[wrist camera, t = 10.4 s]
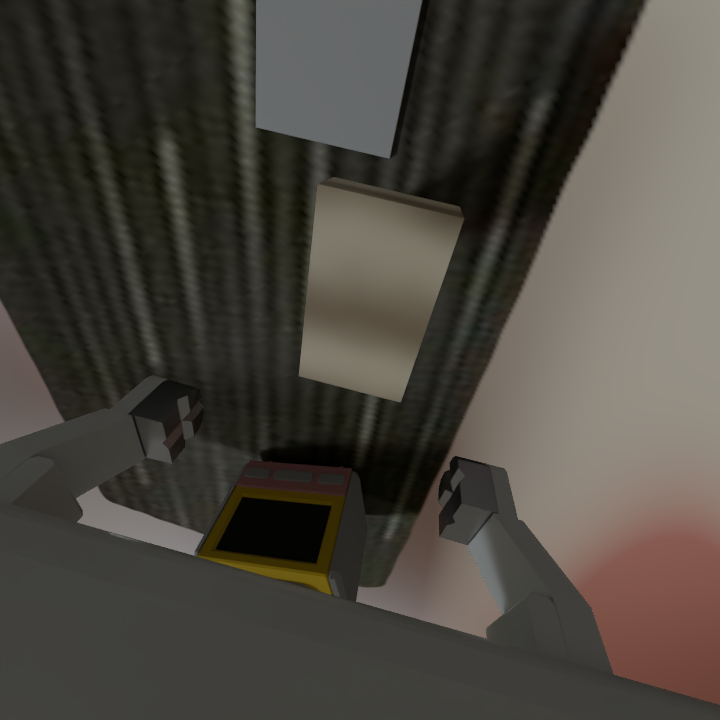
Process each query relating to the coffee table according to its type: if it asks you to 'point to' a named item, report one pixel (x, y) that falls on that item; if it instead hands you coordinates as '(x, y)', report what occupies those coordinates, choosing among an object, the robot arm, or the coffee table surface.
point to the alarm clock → (292, 526)
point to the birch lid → (373, 284)
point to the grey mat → (334, 69)
